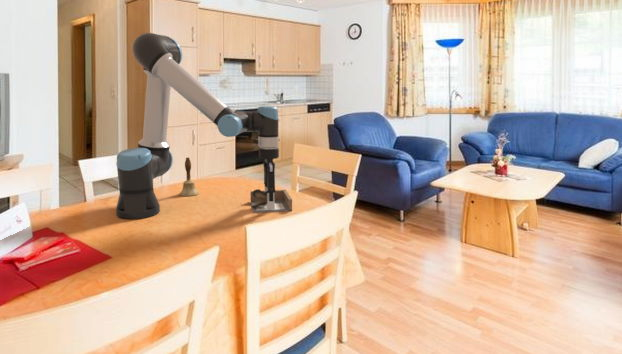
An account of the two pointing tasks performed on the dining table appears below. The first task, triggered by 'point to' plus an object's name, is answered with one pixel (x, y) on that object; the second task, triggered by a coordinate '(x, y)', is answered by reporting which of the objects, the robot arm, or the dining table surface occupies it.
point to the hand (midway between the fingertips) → (269, 206)
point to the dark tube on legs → (260, 197)
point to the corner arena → (281, 202)
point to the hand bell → (188, 182)
